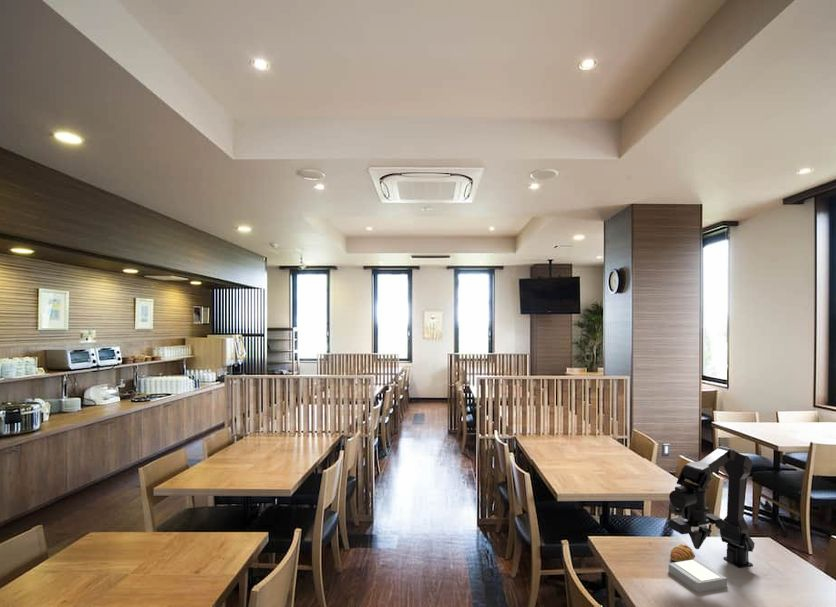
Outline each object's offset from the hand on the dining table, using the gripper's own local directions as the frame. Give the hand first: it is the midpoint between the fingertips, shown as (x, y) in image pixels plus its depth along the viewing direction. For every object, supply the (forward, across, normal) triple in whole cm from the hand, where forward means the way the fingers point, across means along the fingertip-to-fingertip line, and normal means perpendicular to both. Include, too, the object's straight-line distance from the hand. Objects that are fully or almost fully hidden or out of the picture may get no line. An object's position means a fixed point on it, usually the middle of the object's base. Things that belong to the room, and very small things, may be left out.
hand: (696, 548), depth 151 cm
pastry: (+11, -2, -13) cm, 18 cm away
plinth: (+10, 0, 0) cm, 10 cm away
